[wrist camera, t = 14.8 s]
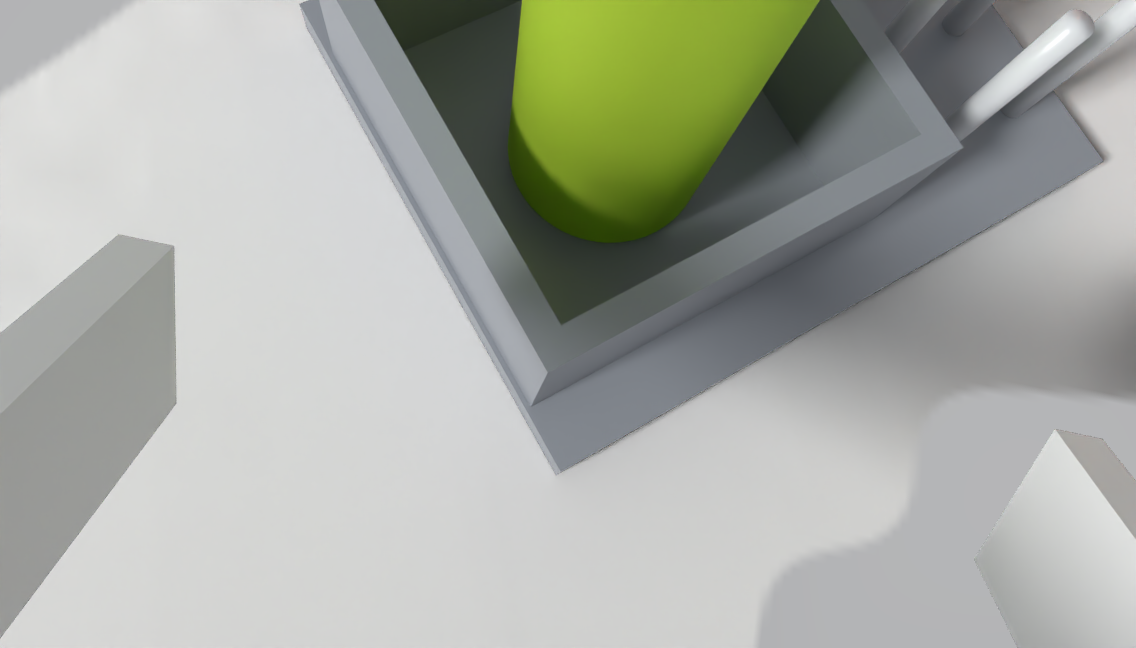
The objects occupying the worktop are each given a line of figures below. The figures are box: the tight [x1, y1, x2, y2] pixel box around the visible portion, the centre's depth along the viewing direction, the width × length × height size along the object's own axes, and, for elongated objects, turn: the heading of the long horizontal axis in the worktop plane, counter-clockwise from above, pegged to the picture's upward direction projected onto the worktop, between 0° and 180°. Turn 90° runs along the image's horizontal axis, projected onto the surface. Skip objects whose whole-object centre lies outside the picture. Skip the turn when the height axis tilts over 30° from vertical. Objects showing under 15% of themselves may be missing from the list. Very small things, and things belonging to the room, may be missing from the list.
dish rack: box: [300, 0, 1136, 475], centre depth 25 cm, size 20×16×8 cm
